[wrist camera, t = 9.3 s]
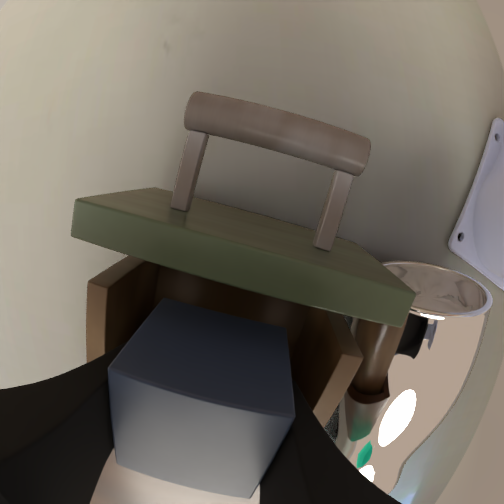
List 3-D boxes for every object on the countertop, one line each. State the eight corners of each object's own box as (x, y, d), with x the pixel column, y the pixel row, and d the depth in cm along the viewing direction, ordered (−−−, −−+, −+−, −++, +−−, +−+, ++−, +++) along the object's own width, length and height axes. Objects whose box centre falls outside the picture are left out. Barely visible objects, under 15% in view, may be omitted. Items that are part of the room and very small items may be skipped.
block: (163, 296, 10) (106, 367, 6) (287, 327, 10) (296, 416, 6) (153, 387, 11) (115, 464, 7) (256, 413, 11) (250, 500, 7)
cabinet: (128, 318, 17) (51, 406, 9) (311, 369, 17) (332, 484, 9) (124, 444, 20) (89, 516, 12) (252, 479, 21) (246, 559, 12)
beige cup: (317, 516, 13) (392, 324, 9) (309, 442, 19) (342, 257, 15) (414, 498, 13) (523, 310, 8) (390, 433, 19) (448, 260, 15)
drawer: (174, 107, 13) (108, 63, 7) (380, 164, 13) (459, 160, 7) (127, 380, 17) (83, 452, 11) (280, 423, 17) (282, 507, 11)
